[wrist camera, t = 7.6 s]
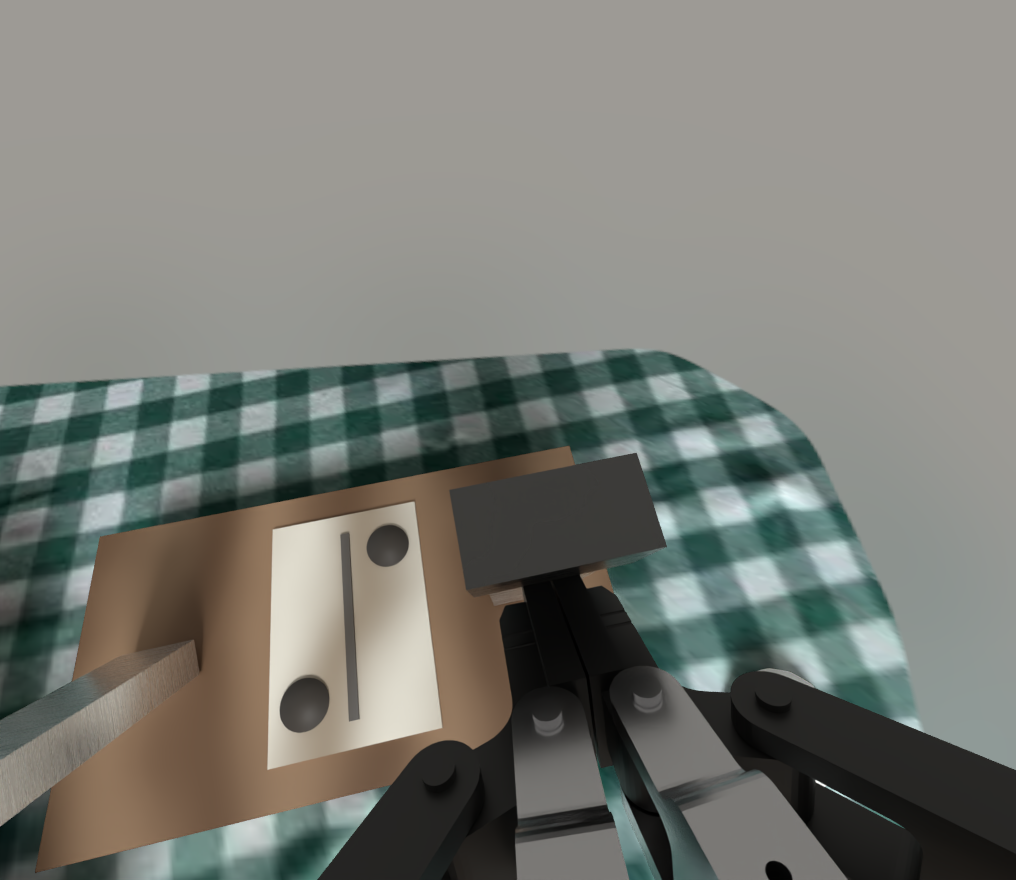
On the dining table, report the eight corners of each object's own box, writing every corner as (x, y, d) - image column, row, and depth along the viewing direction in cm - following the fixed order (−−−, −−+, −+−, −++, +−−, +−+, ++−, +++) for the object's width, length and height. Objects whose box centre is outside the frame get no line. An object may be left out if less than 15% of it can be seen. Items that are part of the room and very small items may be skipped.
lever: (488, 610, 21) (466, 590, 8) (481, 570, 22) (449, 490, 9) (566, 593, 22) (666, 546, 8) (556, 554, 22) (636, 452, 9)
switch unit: (114, 842, 21) (26, 876, 17) (154, 556, 27) (94, 534, 23) (631, 715, 23) (654, 720, 19) (562, 475, 29) (569, 442, 25)
